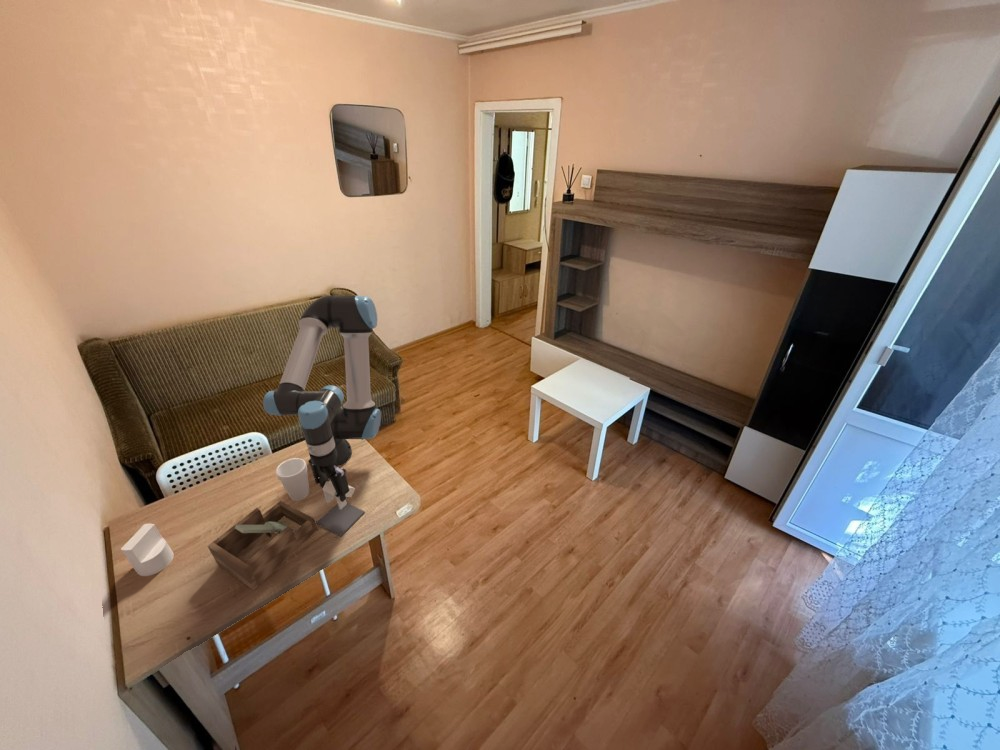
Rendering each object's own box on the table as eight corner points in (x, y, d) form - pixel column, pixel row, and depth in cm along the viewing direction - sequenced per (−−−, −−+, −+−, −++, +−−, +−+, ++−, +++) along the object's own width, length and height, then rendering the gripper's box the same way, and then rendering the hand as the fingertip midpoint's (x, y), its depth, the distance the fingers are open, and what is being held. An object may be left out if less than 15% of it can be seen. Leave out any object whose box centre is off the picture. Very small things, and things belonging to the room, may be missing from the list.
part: (340, 491, 138) (344, 483, 139) (351, 497, 136) (355, 488, 137) (322, 490, 130) (326, 481, 130) (333, 495, 128) (337, 486, 129)
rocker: (279, 524, 135) (282, 519, 135) (298, 535, 131) (301, 529, 132) (228, 524, 118) (231, 518, 118) (248, 536, 114) (251, 530, 114)
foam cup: (303, 506, 142) (294, 479, 135) (279, 501, 143) (269, 474, 137) (319, 486, 150) (311, 460, 143) (296, 482, 151) (287, 456, 145)
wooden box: (284, 511, 140) (277, 492, 135) (318, 529, 134) (311, 510, 129) (218, 566, 122) (207, 546, 117) (253, 590, 116) (243, 569, 111)
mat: (341, 500, 144) (340, 499, 144) (364, 512, 140) (364, 511, 140) (316, 523, 136) (316, 522, 135) (340, 536, 132) (340, 535, 131)
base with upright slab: (152, 548, 127) (135, 522, 121) (180, 549, 127) (165, 524, 120) (128, 575, 119) (109, 549, 113) (158, 576, 119) (141, 551, 113)
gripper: (290, 446, 123) (307, 501, 134) (334, 466, 116) (348, 521, 128) (311, 433, 128) (325, 486, 140) (353, 451, 122) (365, 505, 133)
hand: (336, 503), depth 134 cm, fingers closed on part, 5 cm apart
